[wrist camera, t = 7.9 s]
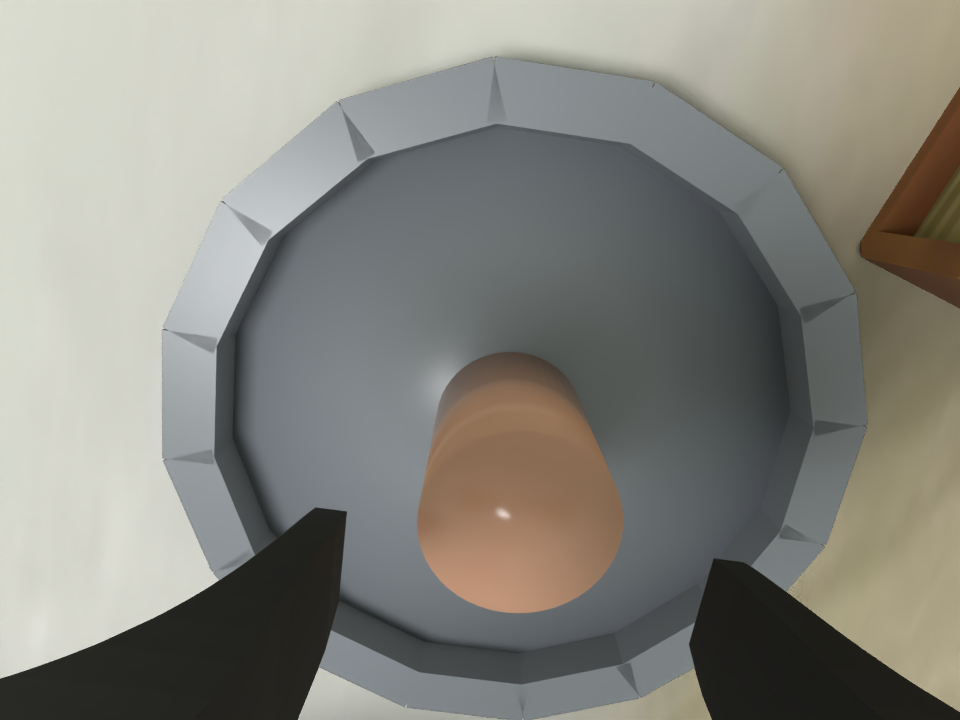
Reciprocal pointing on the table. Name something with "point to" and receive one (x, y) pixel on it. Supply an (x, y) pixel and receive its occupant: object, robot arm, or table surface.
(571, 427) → the terracotta rounded cylinder
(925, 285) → the diary
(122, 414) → the table surface
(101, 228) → the table surface
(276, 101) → the table surface
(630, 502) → the round tray
